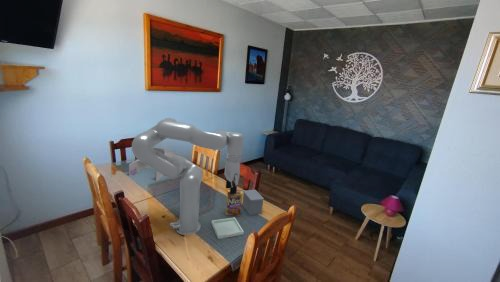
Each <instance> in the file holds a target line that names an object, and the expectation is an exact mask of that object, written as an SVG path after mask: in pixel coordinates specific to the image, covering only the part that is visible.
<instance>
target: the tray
mask: <svg viewBox="0 0 500 282" xmlns="http://www.w3.org/2000/svg"><path fill="white" fill-rule="evenodd" d="M211 227H212V229H213V231H214V233H215V236H216V237H217V240H221V239H227V238H228V239H229V238H233V237H234V238H235V237H240V236H244V234H245V231H244V230H243V228H242V227H241V225H240V223H239V221H238V220H237V219H236V216H233V217H228V218H221V219H219V218H218V219H212V220H211Z"/></svg>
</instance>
